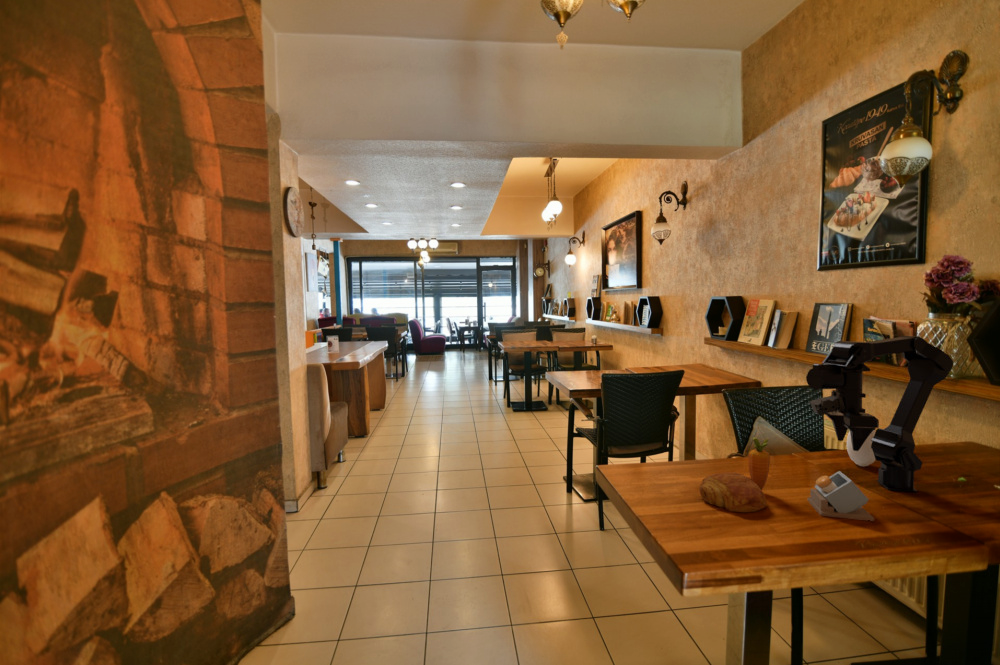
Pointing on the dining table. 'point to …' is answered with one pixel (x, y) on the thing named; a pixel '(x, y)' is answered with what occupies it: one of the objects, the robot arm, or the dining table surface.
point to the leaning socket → (840, 500)
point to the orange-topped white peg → (826, 484)
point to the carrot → (759, 463)
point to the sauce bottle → (862, 451)
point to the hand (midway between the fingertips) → (847, 445)
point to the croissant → (732, 492)
